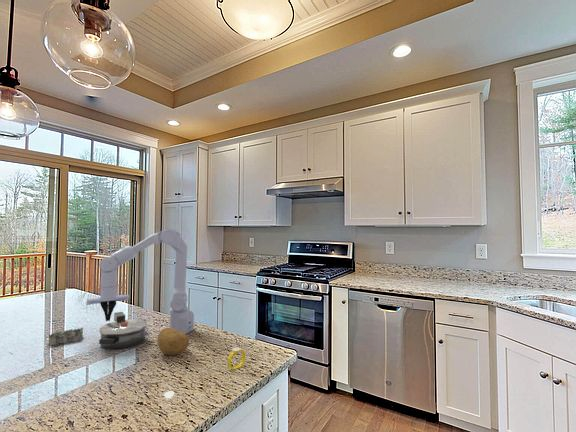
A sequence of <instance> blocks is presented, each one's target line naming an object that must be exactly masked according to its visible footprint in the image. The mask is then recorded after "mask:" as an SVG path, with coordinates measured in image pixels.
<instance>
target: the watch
mask: <svg viewBox="0 0 576 432" xmlns="http://www.w3.org/2000/svg"><path fill="white" fill-rule="evenodd" d="M239 353H241V360H240V362H239V364H238V365H235V366H232V364H231V363H232V358H233V356H234V355H235V354H239ZM245 361H246V353H245V351H244V350H242V348H241V347H239V346H237V347H233V348H232V349H231V352H230V353H229V354H228V357H227V366H228V368H229V369H231V370H233V371H236V370H238V369H240V368H242V367H243V365H244V363H245Z"/></svg>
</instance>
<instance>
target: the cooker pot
mask: <svg viewBox="0 0 576 432" xmlns="http://www.w3.org/2000/svg"><path fill="white" fill-rule="evenodd" d="M143 320H144V321H146V322H147V320H146V319H143ZM98 340H99V341H98V342H99V343H98V344H99V345H100V348H101V349H102V350H106V351H120V349H121V350H126V348H127V349H130V348H133V347H136V346H139V345H142V344H143V343H145V340H146V328H144V329H143V330H141V331H138V332H135V333H131V334H125V335H116V336H108V335H102V334H100V339H98Z"/></svg>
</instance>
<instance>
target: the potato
mask: <svg viewBox="0 0 576 432" xmlns="http://www.w3.org/2000/svg"><path fill="white" fill-rule="evenodd" d="M156 339H157V341H156V343H157V346H158V349H159V351H160V352H162V353H164V354H165V355H167V356H172V355H173V356H175V355H178V356H179V355H180V354H182V353H184V352H185V351H186V350H187V349H188V348H189V344H190V341H189V337H188V336H187V334H185V333H183V332H181V331H179V330H177V329H174V328H170V327H165V328H162V329H161V330H160V331H159V333H158V334H157V338H156Z"/></svg>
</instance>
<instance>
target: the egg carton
mask: <svg viewBox="0 0 576 432" xmlns="http://www.w3.org/2000/svg"><path fill="white" fill-rule="evenodd" d="M83 333H84V327H80V328H74V329H73V328H71V329H69V330H68V329H67V330H55V331H53V332H52V333H51V334H49V335H48V345H49V346H50V345H51V346H55V345H57V344H66V343H67V344H68V343H70V342H74V343H75V342H79V341H82V340H83V339H82V338H83V337H84V336H83V335H84V334H83Z"/></svg>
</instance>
